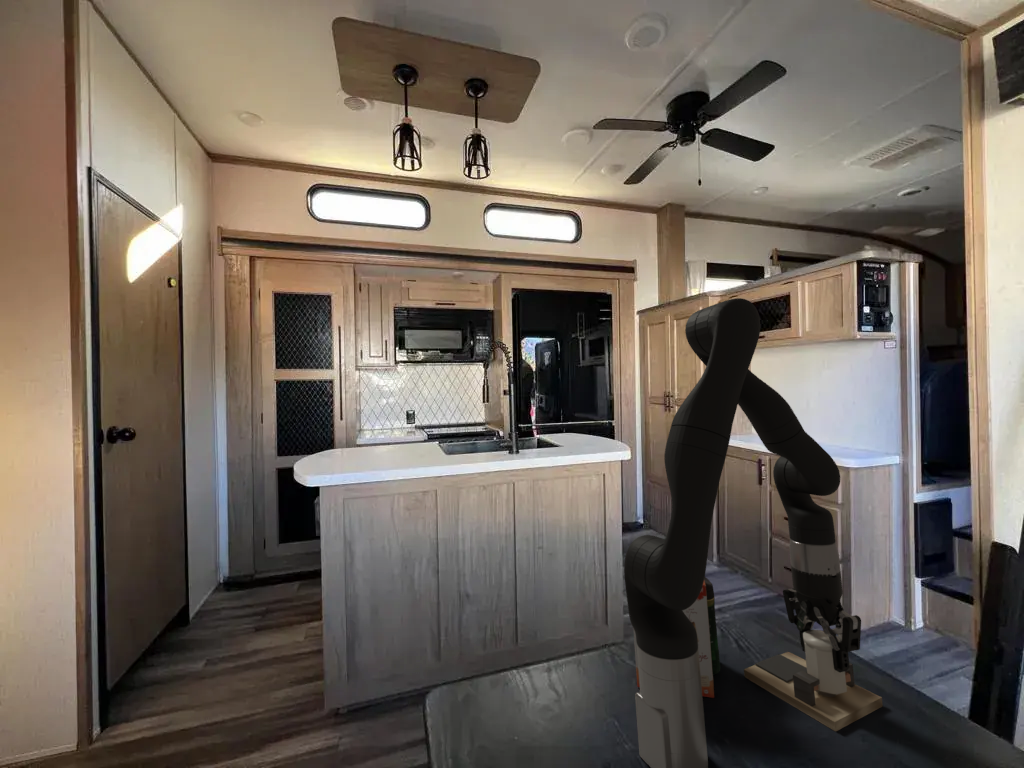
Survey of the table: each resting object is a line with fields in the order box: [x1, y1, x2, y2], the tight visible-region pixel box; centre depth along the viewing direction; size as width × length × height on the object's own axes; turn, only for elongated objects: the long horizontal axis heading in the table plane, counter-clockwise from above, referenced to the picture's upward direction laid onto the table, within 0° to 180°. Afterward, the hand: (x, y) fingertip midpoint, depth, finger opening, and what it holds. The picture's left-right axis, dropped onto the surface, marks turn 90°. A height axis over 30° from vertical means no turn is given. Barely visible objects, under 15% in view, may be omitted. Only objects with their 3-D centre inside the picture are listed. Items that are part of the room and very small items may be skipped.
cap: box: [803, 629, 851, 695], centre depth 80 cm, size 9×6×8 cm, turn 104°
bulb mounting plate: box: [743, 651, 884, 732], centre depth 83 cm, size 13×17×10 cm
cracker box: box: [632, 581, 715, 699], centre depth 88 cm, size 14×6×21 cm, turn 71°
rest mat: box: [754, 653, 807, 683], centre depth 88 cm, size 7×7×1 cm
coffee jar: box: [704, 576, 721, 676], centre depth 94 cm, size 10×8×19 cm
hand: (824, 660), depth 80 cm, fingers closed on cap, 5 cm apart
